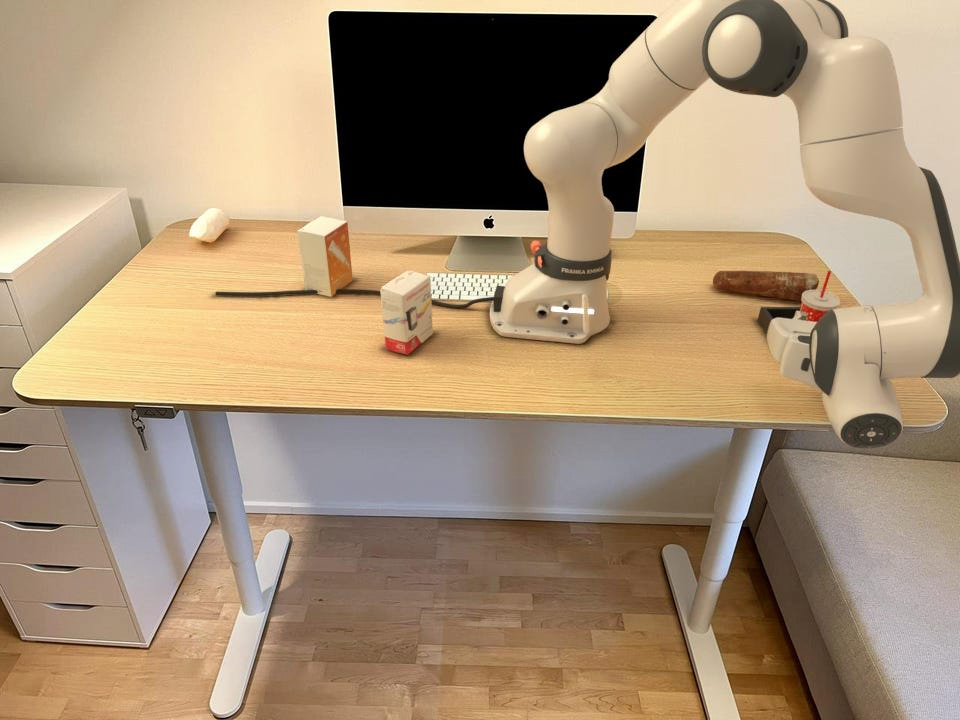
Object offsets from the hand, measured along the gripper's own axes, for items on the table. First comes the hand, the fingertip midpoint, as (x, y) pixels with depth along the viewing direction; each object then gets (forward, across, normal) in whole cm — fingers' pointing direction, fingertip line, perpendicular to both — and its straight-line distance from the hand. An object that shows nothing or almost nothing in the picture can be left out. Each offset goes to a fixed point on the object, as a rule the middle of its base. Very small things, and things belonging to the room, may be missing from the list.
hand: (830, 318), depth 114 cm
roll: (+22, +125, +10) cm, 127 cm away
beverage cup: (+8, 0, +10) cm, 13 cm away
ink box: (-8, +69, +10) cm, 70 cm away
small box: (+8, +90, +10) cm, 91 cm away
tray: (+8, 0, +10) cm, 13 cm away
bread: (+26, +6, +10) cm, 28 cm away
